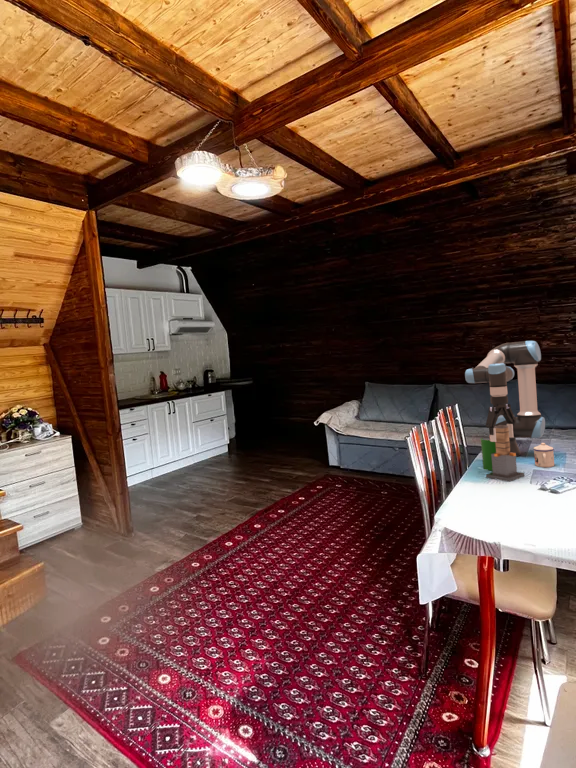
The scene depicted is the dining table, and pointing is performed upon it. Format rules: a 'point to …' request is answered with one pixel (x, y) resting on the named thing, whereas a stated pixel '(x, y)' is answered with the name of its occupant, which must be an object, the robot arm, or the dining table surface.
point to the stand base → (504, 467)
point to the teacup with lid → (544, 455)
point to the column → (502, 440)
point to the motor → (487, 453)
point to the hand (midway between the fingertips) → (502, 439)
